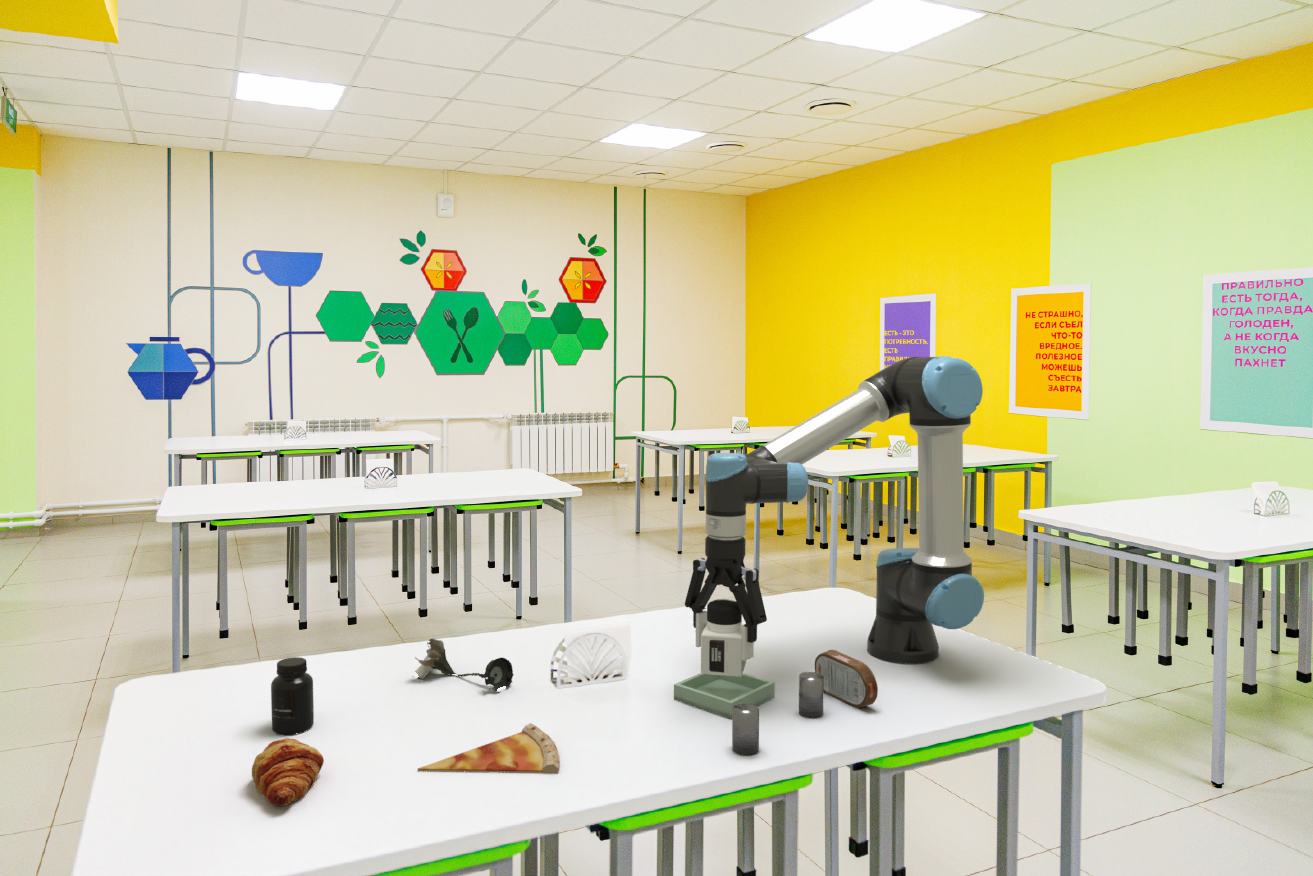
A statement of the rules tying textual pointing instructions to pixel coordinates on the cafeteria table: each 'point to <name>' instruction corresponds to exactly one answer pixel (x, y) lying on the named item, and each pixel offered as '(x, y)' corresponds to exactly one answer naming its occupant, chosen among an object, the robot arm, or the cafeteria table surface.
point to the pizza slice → (506, 755)
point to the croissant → (286, 770)
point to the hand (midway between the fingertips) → (724, 651)
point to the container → (722, 639)
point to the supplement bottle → (292, 697)
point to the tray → (723, 692)
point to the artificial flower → (495, 671)
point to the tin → (847, 678)
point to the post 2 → (811, 695)
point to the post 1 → (745, 729)
